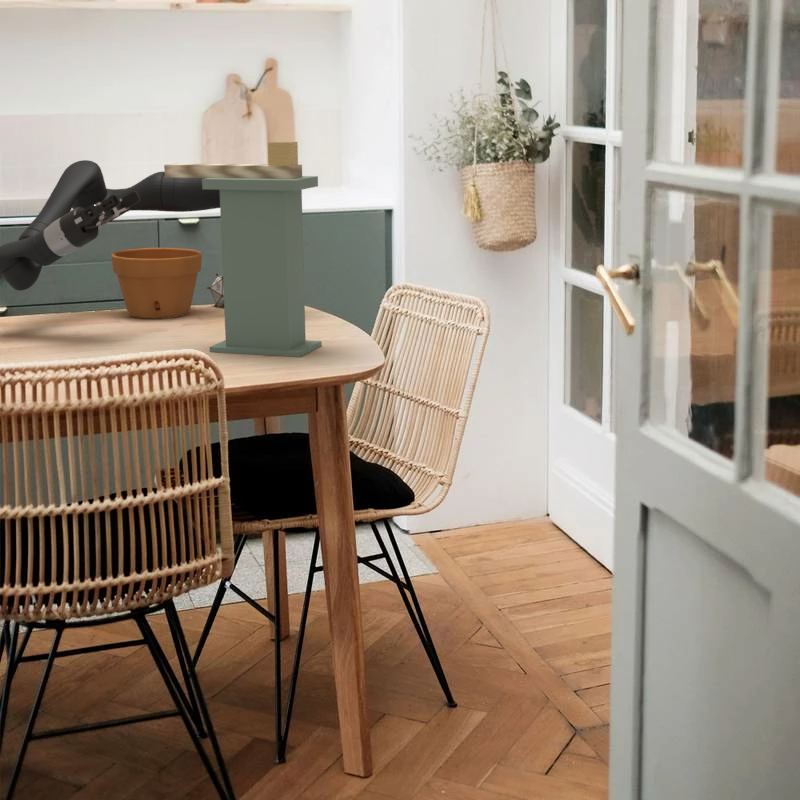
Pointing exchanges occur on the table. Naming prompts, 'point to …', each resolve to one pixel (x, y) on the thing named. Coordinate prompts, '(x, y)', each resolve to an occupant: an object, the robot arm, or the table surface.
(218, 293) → the game die
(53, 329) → the table surface
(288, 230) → the shelf stand
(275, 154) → the cube
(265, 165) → the wooden plank
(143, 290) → the flower pot
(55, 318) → the table surface
